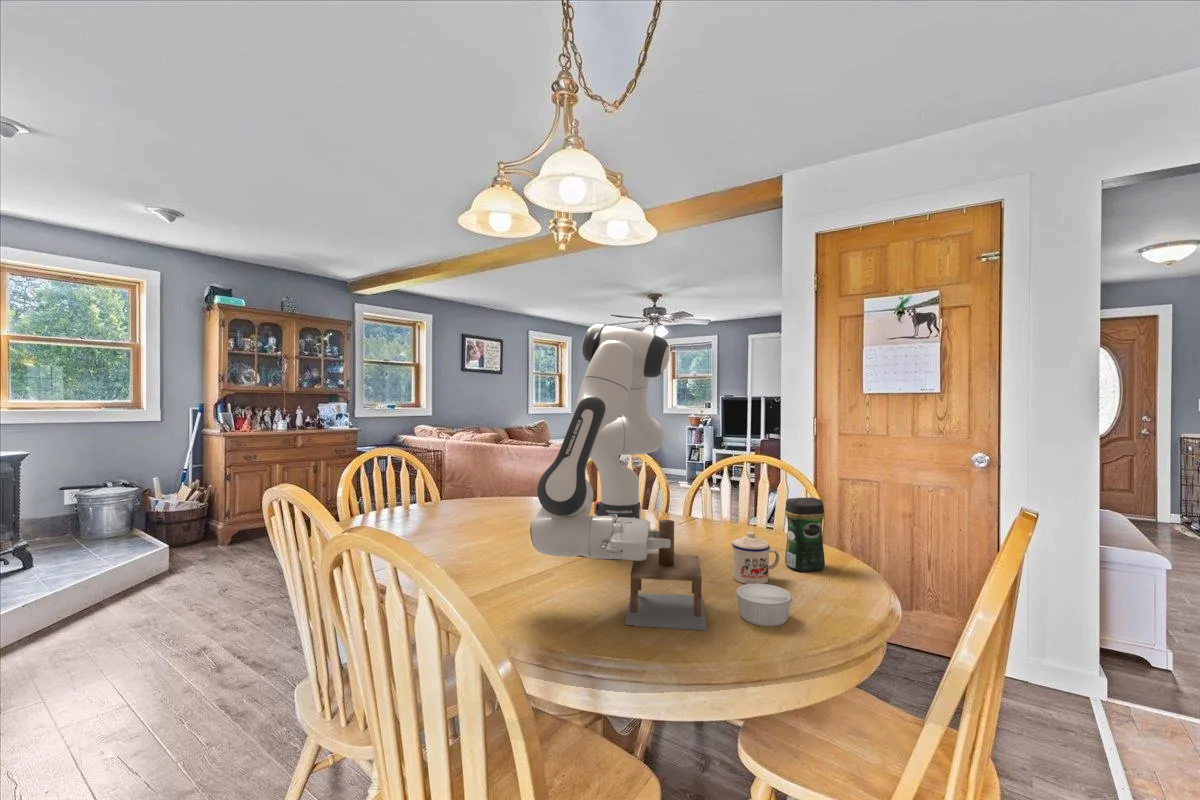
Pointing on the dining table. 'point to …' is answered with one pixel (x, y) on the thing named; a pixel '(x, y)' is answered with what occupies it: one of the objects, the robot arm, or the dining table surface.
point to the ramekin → (763, 604)
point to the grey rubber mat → (666, 612)
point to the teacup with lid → (752, 559)
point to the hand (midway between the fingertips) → (670, 539)
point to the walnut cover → (667, 569)
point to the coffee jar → (804, 534)
